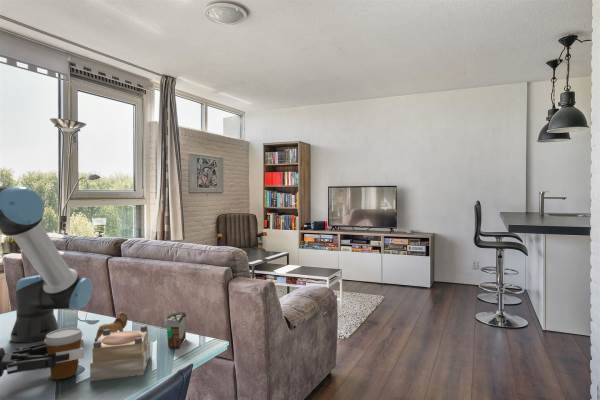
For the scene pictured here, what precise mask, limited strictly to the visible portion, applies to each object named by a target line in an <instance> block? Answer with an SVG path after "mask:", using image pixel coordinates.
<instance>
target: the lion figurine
mask: <svg viewBox="0 0 600 400" xmlns="http://www.w3.org/2000/svg"><path fill="white" fill-rule="evenodd" d="M127 324H128V314H127V313H126V312H125V311H120V312H117V314H116V318H115V320H114V321H113V322H111V323H104V324H101V325H100V326H99V327H98V329H97V331H96V335H95V338H94V342H97V341H98V340H99V339H100V338H101V337H102V335H103V330H105V329H110V333H112V332H123V331H124V328H126V326H127Z"/></svg>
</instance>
